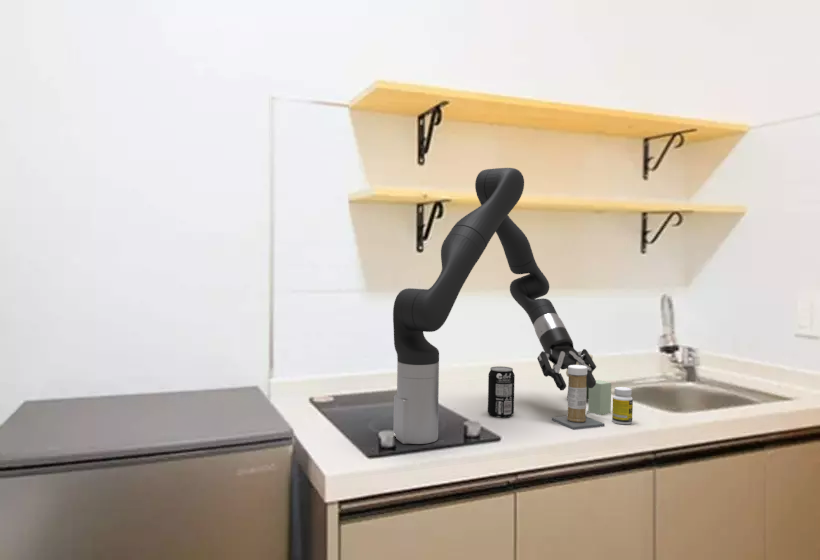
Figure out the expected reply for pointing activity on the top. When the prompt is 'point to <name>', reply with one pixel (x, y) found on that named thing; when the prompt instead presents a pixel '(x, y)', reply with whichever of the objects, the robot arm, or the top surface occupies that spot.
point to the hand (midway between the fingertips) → (578, 387)
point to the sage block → (600, 398)
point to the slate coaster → (578, 423)
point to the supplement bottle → (622, 406)
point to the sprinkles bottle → (577, 393)
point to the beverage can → (501, 392)
